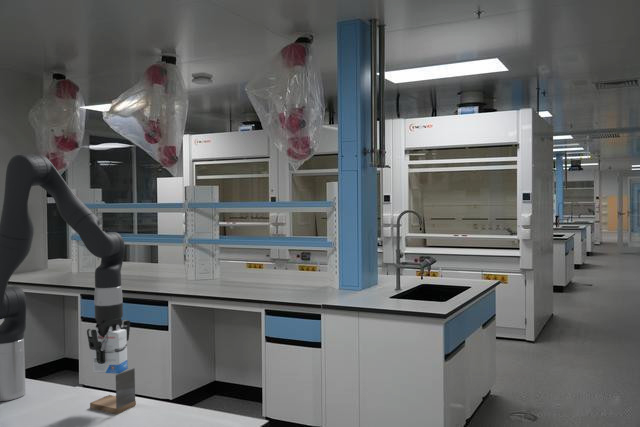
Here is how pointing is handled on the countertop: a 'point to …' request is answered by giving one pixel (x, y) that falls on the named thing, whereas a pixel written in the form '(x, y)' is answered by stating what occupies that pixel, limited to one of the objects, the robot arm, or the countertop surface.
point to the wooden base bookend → (119, 395)
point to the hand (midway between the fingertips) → (110, 360)
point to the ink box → (113, 353)
